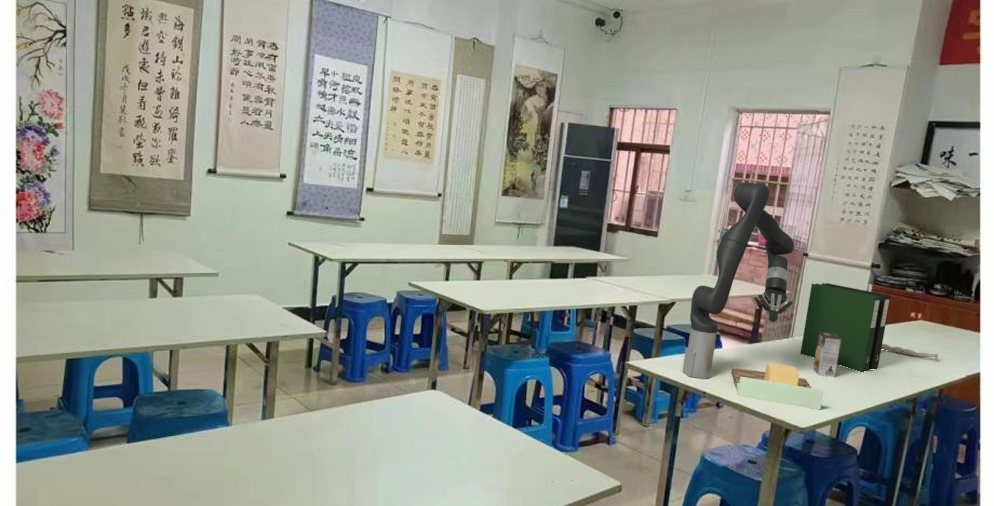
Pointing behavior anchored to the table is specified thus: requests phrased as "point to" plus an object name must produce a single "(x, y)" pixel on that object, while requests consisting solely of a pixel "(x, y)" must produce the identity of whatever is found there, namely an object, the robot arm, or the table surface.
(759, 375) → the board
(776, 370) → the ochre block
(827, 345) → the coffee box
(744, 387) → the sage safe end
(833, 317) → the binder
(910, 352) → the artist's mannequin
